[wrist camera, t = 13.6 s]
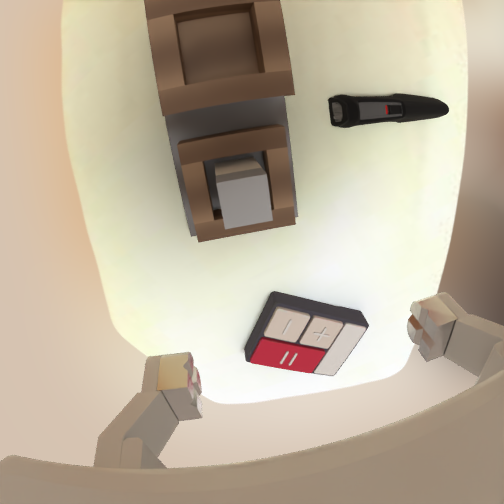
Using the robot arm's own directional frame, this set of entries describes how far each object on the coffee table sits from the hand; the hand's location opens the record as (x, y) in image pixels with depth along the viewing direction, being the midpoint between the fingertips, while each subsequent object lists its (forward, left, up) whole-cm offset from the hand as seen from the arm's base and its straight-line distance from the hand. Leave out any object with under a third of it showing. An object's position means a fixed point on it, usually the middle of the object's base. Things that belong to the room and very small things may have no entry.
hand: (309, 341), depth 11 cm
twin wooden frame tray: (-6, 0, -26) cm, 27 cm away
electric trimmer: (-5, +18, -27) cm, 33 cm away
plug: (0, 0, -25) cm, 25 cm away
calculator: (+25, +6, -27) cm, 37 cm away
